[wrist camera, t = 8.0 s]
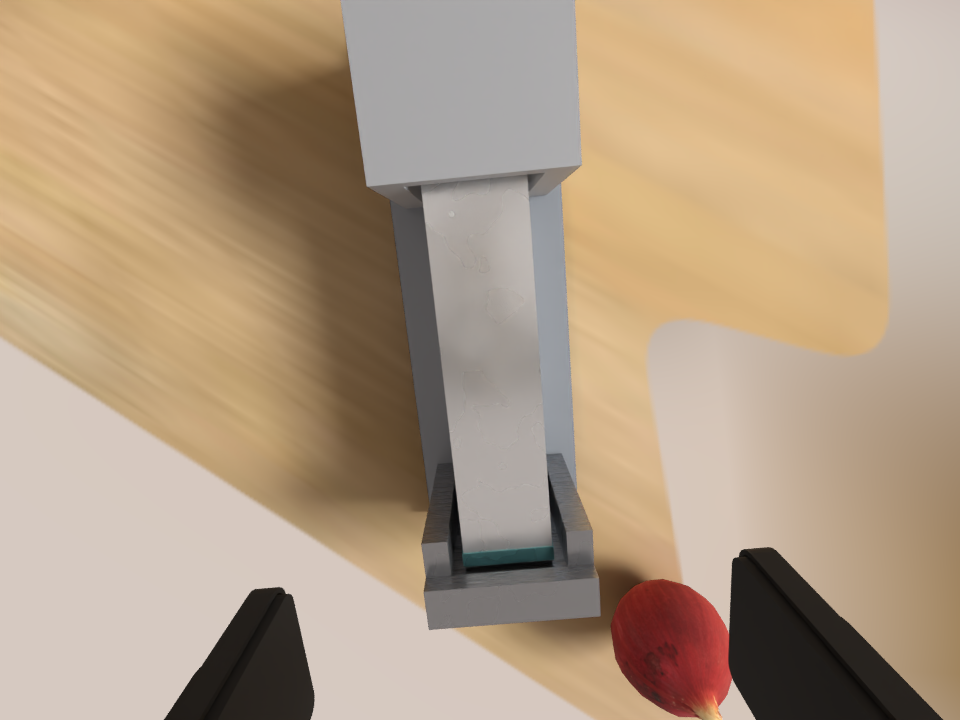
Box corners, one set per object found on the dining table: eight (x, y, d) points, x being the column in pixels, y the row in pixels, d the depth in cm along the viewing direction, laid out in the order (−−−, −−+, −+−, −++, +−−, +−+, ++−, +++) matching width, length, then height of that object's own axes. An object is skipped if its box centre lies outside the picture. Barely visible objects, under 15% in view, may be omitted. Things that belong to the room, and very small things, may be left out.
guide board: (373, 42, 22) (300, -102, 13) (548, 23, 21) (595, -136, 13) (434, 511, 27) (412, 637, 18) (573, 500, 27) (619, 621, 18)
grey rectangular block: (434, 187, 22) (416, 162, 16) (514, 179, 21) (527, 151, 16) (467, 492, 25) (463, 567, 19) (536, 486, 25) (554, 560, 19)
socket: (437, 463, 25) (418, 557, 17) (561, 452, 25) (597, 542, 17) (444, 517, 26) (428, 629, 18) (564, 507, 26) (600, 616, 18)
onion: (604, 639, 29) (649, 783, 21) (590, 559, 28) (633, 680, 20) (698, 623, 29) (780, 763, 21) (689, 541, 27) (772, 657, 20)
